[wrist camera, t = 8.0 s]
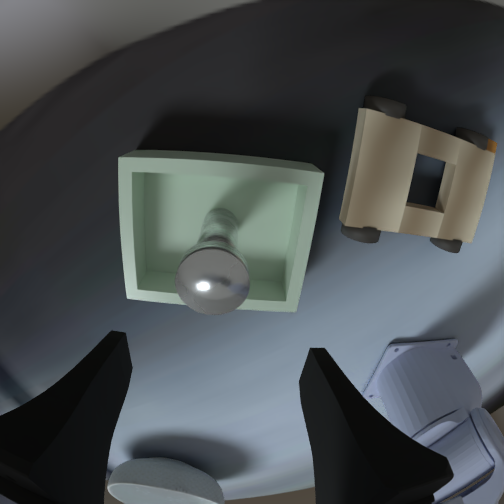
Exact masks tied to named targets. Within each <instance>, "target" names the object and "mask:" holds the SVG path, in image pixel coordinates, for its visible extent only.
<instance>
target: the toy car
mask: <svg viewBox="0 0 504 504" xmlns="http://www.w3.org/2000/svg"><path fill="white" fill-rule="evenodd" d="M405 113H406V105H405V104H403V103H400V102H397V101H394V100H391V99H387V98H382V97H377V96H365V101H364V108H359V110H358V117H357V124H356V130H355V137H354V143H353V149H352V155H351V160H350V166H349V171H348V177H347V182H346V187H345V192H344V197H343V202H342V207H341V212H340V216H339V220H340V221H341V222H342V227H341V232H342V234H344V235H345V236H346V237H348V238H350V239H353V240H356V241H359V242H363V243H376V242H378V240H379V237H380V233H381V230H382V231H390V232H398V233H405V234H412V235H420V236H427V237H431V238H430V241H431V242H432V243H433V244H434V245H435V246H437V247H439V248H441V249H443V250H445V251H448V252H452V253H458V252H459V251H460V248H461V245H462V242H467V243H472V240H473V238H474V235H475V231H476V228H477V225H478V222H479V219H480V215H481V212H482V208H483V205H484V201H485V197H486V193H487V189H488V185H489V181H490V177H491V172H492V168H493V163H494V158H495V152H496V146H497V143H496V142H494V141H492V140H490V139H488V137H486V136H484V135H482V134H479V133H477V132H474V131H471V130H468V129H465V128H460V127H457V128H456V134H455V137H454V136H452V135H449V134H447V133H444V132H441V131H439V130H436V129H433V128H430V127H427V126H424V125H421V124H418V123H415V122H412V121H409V120H406V119H405ZM417 153H419V154H422V155H426V156H429V157H432V158H436V159H439V160H442V161H445V162H446V164H445V169H444V173H443V178H442V182H441V186H440V191H439V195H438V199H437V202H436V206H435V207H430V206H425V205H420V204H415V203H410V202H406V201H407V197H408V193H409V189H410V184H411V180H412V175H413V171H414V166H415V161H416V156H417Z"/></svg>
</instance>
